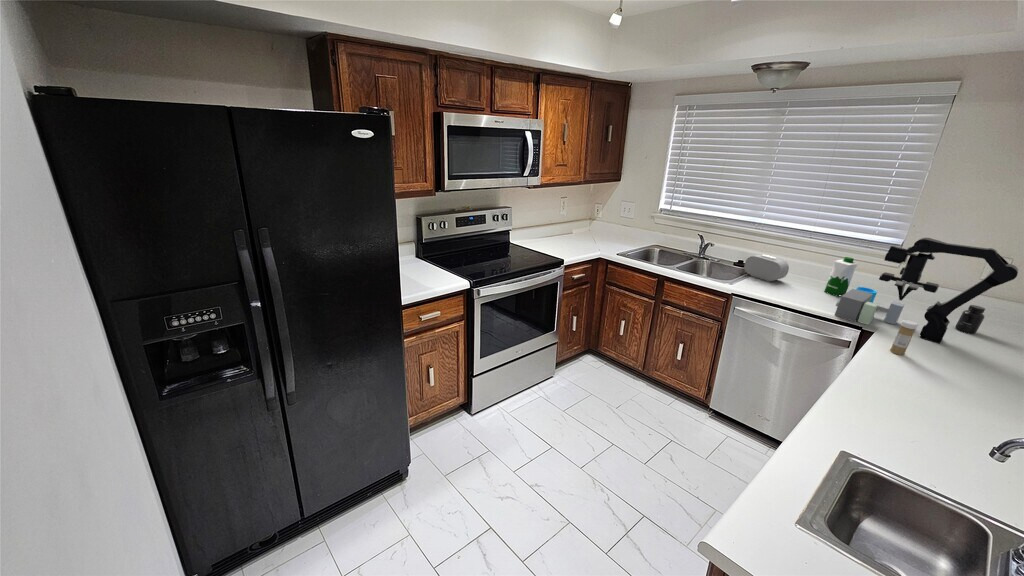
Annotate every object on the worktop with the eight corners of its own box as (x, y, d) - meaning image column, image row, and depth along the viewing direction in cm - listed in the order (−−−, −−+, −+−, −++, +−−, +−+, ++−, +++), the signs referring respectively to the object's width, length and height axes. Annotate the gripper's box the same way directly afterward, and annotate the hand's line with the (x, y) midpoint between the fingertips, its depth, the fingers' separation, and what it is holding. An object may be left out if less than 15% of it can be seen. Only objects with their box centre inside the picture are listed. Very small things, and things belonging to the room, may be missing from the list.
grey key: (897, 321, 192) (904, 304, 189) (894, 324, 189) (902, 306, 186) (855, 309, 203) (861, 293, 200) (852, 312, 201) (858, 295, 197)
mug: (871, 309, 206) (877, 294, 203) (851, 304, 210) (857, 289, 208) (870, 302, 215) (875, 287, 212) (850, 298, 220) (856, 283, 217)
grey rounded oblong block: (785, 282, 239) (792, 260, 234) (776, 284, 234) (783, 262, 230) (750, 271, 255) (756, 250, 251) (742, 273, 251) (747, 252, 246)
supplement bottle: (958, 331, 185) (970, 307, 181) (951, 326, 191) (963, 302, 187) (979, 335, 182) (991, 311, 178) (971, 330, 188) (984, 306, 184)
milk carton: (847, 295, 223) (861, 260, 216) (838, 297, 220) (851, 261, 212) (830, 289, 231) (842, 255, 223) (821, 291, 227) (833, 256, 220)
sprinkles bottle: (906, 353, 163) (919, 323, 158) (902, 356, 161) (916, 325, 156) (891, 348, 167) (904, 318, 162) (887, 351, 164) (900, 321, 159)
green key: (871, 322, 190) (878, 304, 187) (868, 324, 187) (875, 306, 184) (835, 311, 200) (841, 294, 197) (831, 313, 197) (838, 296, 194)
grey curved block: (865, 312, 201) (873, 293, 197) (854, 321, 190) (862, 301, 187) (845, 307, 207) (852, 288, 203) (834, 315, 196) (841, 296, 192)
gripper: (947, 269, 175) (932, 303, 180) (891, 258, 188) (878, 289, 194) (943, 274, 168) (927, 309, 174) (885, 262, 181) (872, 294, 187)
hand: (900, 300), depth 182 cm, fingers closed
